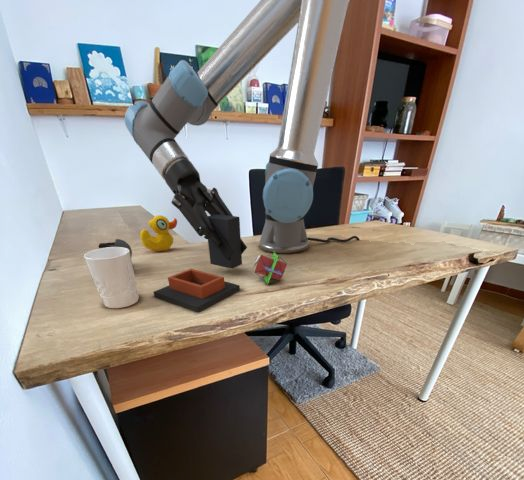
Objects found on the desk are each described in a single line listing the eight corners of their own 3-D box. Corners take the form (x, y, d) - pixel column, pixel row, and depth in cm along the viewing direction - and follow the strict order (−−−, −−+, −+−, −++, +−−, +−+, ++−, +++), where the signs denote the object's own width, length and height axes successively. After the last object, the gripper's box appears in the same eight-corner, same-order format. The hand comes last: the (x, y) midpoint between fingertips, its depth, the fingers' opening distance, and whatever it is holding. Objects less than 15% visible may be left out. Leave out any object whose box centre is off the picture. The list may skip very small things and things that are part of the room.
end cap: (134, 275, 73) (126, 247, 69) (103, 278, 71) (94, 250, 68) (135, 263, 81) (128, 237, 77) (107, 266, 79) (99, 240, 75)
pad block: (220, 259, 76) (216, 214, 70) (242, 264, 73) (239, 216, 67) (210, 264, 74) (204, 216, 67) (231, 269, 70) (228, 219, 64)
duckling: (180, 246, 95) (175, 212, 89) (182, 250, 91) (177, 216, 85) (143, 249, 92) (135, 215, 86) (144, 254, 88) (135, 218, 82)
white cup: (100, 313, 56) (82, 261, 51) (101, 297, 62) (84, 249, 57) (143, 305, 59) (130, 255, 53) (140, 291, 65) (128, 245, 59)
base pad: (198, 278, 71) (196, 263, 69) (240, 290, 65) (239, 274, 63) (154, 296, 62) (150, 280, 60) (198, 312, 56) (195, 294, 54)
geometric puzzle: (288, 266, 72) (269, 240, 67) (297, 275, 66) (277, 248, 62) (265, 284, 73) (245, 260, 69) (272, 295, 68) (251, 270, 63)
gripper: (197, 180, 77) (250, 254, 78) (142, 187, 65) (205, 273, 67) (209, 156, 71) (266, 236, 73) (151, 158, 60) (220, 253, 61)
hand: (237, 253), depth 70 cm, fingers closed on pad block, 4 cm apart
